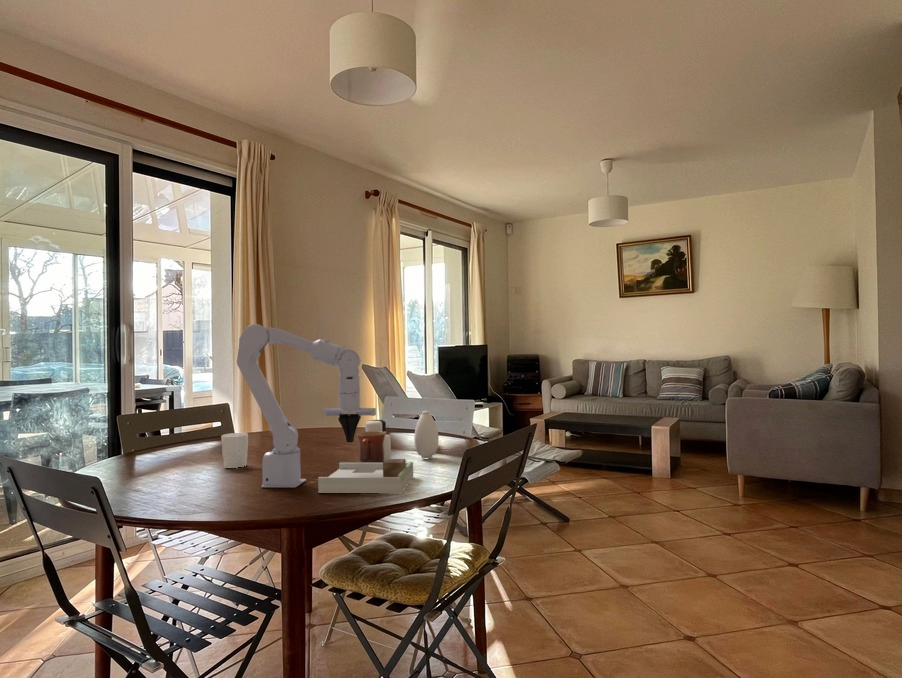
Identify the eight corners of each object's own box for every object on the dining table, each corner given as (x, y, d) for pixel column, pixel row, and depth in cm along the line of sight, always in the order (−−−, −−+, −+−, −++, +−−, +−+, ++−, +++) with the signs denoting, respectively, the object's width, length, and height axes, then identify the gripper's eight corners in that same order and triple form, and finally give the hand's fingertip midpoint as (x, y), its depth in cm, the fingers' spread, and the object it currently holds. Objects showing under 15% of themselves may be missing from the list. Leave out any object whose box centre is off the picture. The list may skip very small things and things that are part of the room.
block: (383, 478, 146) (382, 462, 146) (387, 473, 151) (387, 458, 151) (402, 478, 146) (401, 462, 146) (405, 473, 151) (405, 458, 151)
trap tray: (318, 493, 142) (318, 476, 142) (340, 476, 159) (339, 461, 160) (400, 494, 139) (400, 476, 139) (413, 476, 157) (412, 461, 157)
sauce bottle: (437, 461, 178) (436, 404, 178) (412, 461, 179) (411, 404, 179) (440, 456, 185) (439, 401, 186) (416, 456, 186) (415, 402, 186)
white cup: (242, 469, 172) (241, 436, 173) (217, 469, 173) (216, 437, 173) (252, 463, 180) (252, 432, 180) (228, 464, 181) (227, 433, 181)
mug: (362, 464, 176) (361, 431, 176) (389, 464, 175) (388, 431, 175) (350, 472, 164) (349, 437, 164) (379, 473, 163) (378, 437, 163)
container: (368, 458, 185) (367, 418, 185) (391, 458, 184) (390, 418, 184) (360, 463, 178) (359, 422, 178) (384, 463, 176) (383, 422, 176)
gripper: (319, 394, 153) (320, 444, 153) (371, 393, 152) (372, 444, 151) (327, 392, 160) (328, 439, 160) (377, 391, 159) (378, 439, 158)
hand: (350, 441), depth 156 cm, fingers closed
